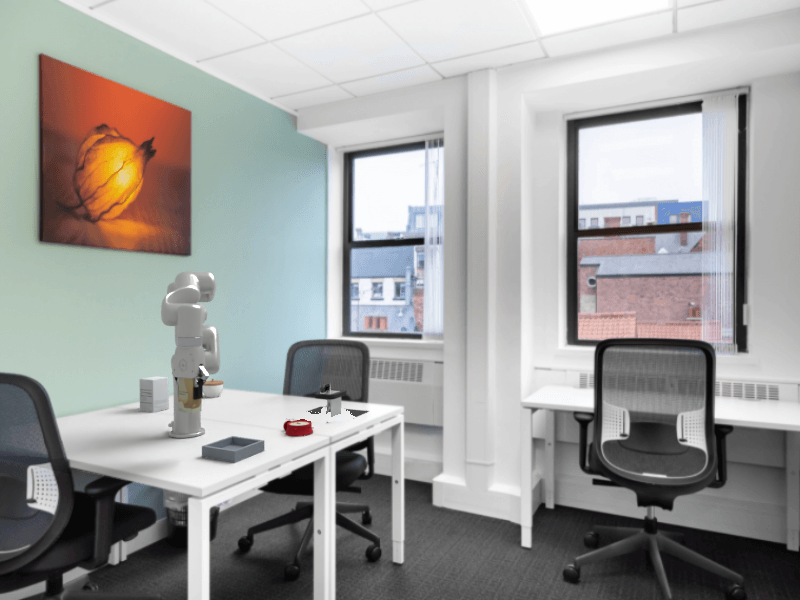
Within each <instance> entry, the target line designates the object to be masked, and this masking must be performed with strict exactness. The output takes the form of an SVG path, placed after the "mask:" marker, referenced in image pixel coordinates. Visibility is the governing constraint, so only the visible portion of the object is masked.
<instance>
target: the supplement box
mask: <svg viewBox="0 0 800 600" xmlns="http://www.w3.org/2000/svg"><path fill="white" fill-rule="evenodd" d="M169 392H170V390H169V377H168V376H158V375H156V376H149V377H143V378H139V412H143V411H146V412H145V413H152V412H154V413H158V412H161V410H162V411H166V410H169V409H170V407H169V406H170V402H169V401H170V400H169V399H170V395H169V394H170V393H169ZM165 409H166V410H165ZM157 411H158V412H157Z"/></svg>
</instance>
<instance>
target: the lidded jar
mask: <svg viewBox="0 0 800 600" xmlns="http://www.w3.org/2000/svg"><path fill="white" fill-rule="evenodd" d="M223 389H224V380H215V379H214V378H211V380H206V382H205V383H204V386H203V395H204V396H205V397H206V398H207V399H213V398H214V399H215V397H216V398H219V397H220V395H221V394H222V393H223Z"/></svg>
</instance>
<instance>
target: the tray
mask: <svg viewBox="0 0 800 600" xmlns="http://www.w3.org/2000/svg"><path fill="white" fill-rule="evenodd" d="M264 451H265V439H262V440H261V439H257V438H249V437H242V436H236V435H235V436H234V435H231V436H228V437H225V438H222V439H219V440H217V441H214V442H211V443H207V444H205V445H202V446H201V458H205V457H207V458H206V459H211V458H213V459H212V460H217V459H218V460H217V461H223V462H224V461H225V462H229V463H238V462H240V461H242V460H245V459H248V458H251V457H252V456H255V455H258V454H260V453H262V452H264Z"/></svg>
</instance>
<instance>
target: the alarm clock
mask: <svg viewBox="0 0 800 600" xmlns="http://www.w3.org/2000/svg"><path fill="white" fill-rule="evenodd" d="M312 423H313V422H311V421H307V420H305V419H300V420H290V419H287V420H286V421H285V422H284V423H283V426H282V427H283V428H282V429H283V430H284V431H285V435H286V436H290V437H301V436H302V437H305V436H308V435H312V434H313V433H314V430H313V429H314V427H312V425H313V424H312ZM311 433H312V434H311ZM304 435H305V436H304Z"/></svg>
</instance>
